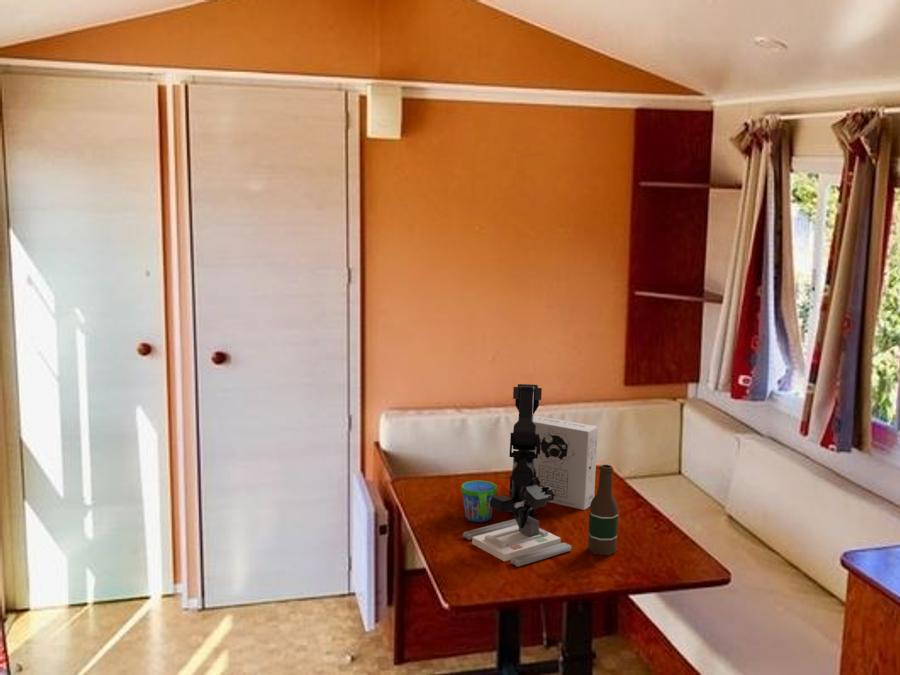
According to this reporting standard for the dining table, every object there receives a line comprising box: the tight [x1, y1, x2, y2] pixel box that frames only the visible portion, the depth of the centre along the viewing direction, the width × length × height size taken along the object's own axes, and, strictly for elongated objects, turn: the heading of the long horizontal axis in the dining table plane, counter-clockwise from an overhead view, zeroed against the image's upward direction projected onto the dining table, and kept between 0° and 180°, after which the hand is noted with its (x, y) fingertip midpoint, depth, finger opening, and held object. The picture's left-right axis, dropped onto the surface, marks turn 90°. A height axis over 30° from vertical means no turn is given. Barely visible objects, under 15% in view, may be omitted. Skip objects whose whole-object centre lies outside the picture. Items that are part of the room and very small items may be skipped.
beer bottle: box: [587, 464, 619, 556], centre depth 243 cm, size 8×8×24 cm
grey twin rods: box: [462, 518, 573, 568], centre depth 248 cm, size 20×24×2 cm
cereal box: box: [532, 415, 599, 511], centre depth 282 cm, size 22×8×25 cm, turn 58°
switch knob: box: [519, 516, 540, 537], centre depth 250 cm, size 3×5×4 cm, turn 36°
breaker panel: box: [471, 525, 562, 563], centre depth 248 cm, size 20×14×3 cm
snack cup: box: [460, 480, 498, 523], centre depth 266 cm, size 16×10×10 cm
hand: (521, 527), depth 248 cm, fingers closed
